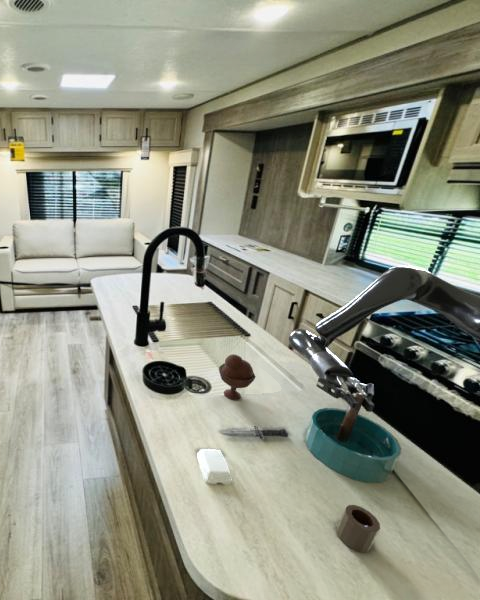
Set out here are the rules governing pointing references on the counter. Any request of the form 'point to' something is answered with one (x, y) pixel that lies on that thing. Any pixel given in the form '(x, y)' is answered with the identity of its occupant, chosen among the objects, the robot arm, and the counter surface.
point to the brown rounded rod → (349, 420)
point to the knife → (257, 433)
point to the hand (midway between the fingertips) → (364, 407)
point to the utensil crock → (358, 528)
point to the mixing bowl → (353, 446)
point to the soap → (214, 466)
